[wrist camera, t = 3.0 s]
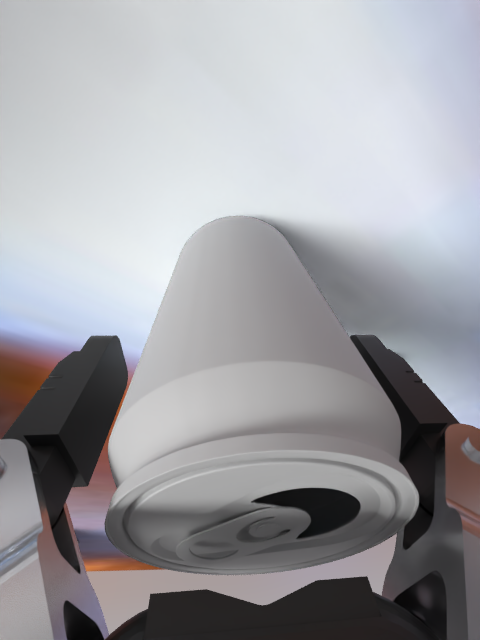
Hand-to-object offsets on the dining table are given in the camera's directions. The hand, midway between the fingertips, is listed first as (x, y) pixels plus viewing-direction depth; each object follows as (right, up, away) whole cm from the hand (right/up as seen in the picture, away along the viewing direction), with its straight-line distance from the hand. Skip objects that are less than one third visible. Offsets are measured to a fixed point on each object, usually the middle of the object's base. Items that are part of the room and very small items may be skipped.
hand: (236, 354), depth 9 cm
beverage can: (0, +4, +6) cm, 7 cm away
